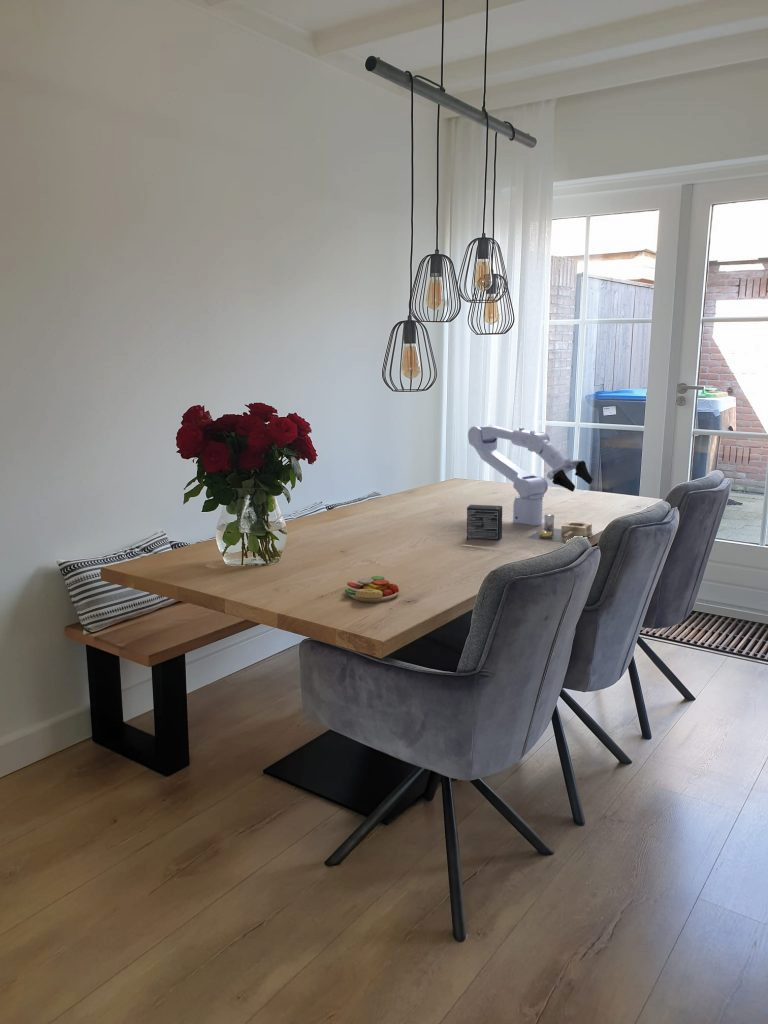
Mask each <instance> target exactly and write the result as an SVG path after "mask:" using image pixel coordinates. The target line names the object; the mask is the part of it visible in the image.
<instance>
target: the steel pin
mask: <svg viewBox="0 0 768 1024" xmlns="http://www.w3.org/2000/svg"><path fill="white" fill-rule="evenodd" d="M544 520H545V522H543V525H544V527H543V528H544V530H548V531H552V534H554V528H555V514H553V513H545V514H544Z"/></svg>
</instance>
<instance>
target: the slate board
mask: <svg viewBox="0 0 768 1024" xmlns="http://www.w3.org/2000/svg"><path fill="white" fill-rule="evenodd" d="M542 530H544V527H543V528H541V529H539V530H538V531H535V532H534V533H532V534H531V535H529V536H527V537H526V538H527V539H534V540H540V541H541V540H542V541H549V542H550V541H551V542H558V543H559V542H560V543H564V542H563V535H561V528H555V527H554V534H552V538H550V539H543V538H540V537H539V531H542ZM573 537H574V536H573Z"/></svg>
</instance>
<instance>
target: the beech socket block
mask: <svg viewBox="0 0 768 1024" xmlns="http://www.w3.org/2000/svg"><path fill="white" fill-rule="evenodd" d="M560 529H561V535H565V534H566V533H568V532H569V531H571V532H573V536H586V537H587V536H589V535H590V534H592V529H593V524H592V523H590V522H579V521H570V520H568V521H566V522H565V523H564V524H562V525H561V528H560Z"/></svg>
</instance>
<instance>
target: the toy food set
mask: <svg viewBox="0 0 768 1024" xmlns="http://www.w3.org/2000/svg"><path fill="white" fill-rule="evenodd" d="M385 578H386V577H385V576H381V575H373V576H371V577H370V578H369V577H365V578H359V579H358V580H357V582H358V583H357V582H352V581H351V582H350V581H349V582H347V583H346V585H347V586H348V588H345V589H344V592H345V593H347V595H348V596H349V597H350V598H352V600H353V599H354V600H356V601H359V602H366V603H367V602H369V603H371V602H373V603H374V602H375V603H377V602H383V601H384V602H385V601H390V600H392V599H394V598H396V597H397V596H398V595H399V593H400V588H399V586H398V585H397V584H396V583H395V584H394V583H393V582H390V581H389V580H387V579H385Z"/></svg>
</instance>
